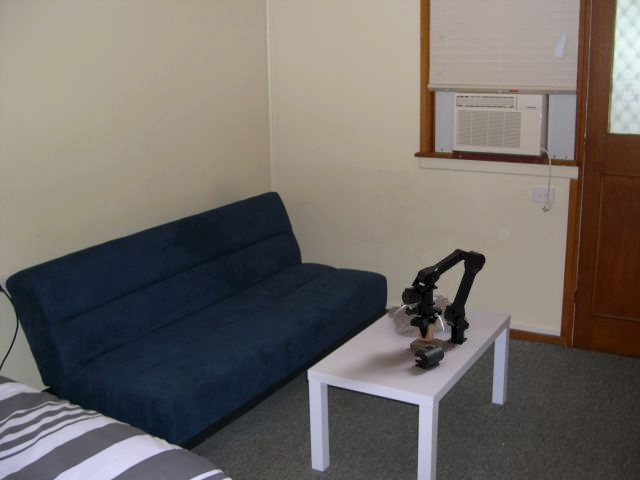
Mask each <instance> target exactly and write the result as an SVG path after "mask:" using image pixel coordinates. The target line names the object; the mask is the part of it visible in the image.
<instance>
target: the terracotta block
mask: <svg viewBox="0 0 640 480" xmlns="http://www.w3.org/2000/svg"><path fill="white" fill-rule="evenodd" d="M428 324H430V326H429V329H428V332H427V335H426V337H425V338H422V335H421V332H420V329H419V328H418V337H419V339H420V340H425V341H430V340H431V339H432V338H435V337H434V336H435V335H434V333H435V331H434V330H435V329H434V327H435V325H434V324H431V323H428Z"/></svg>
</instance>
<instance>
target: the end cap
mask: <svg viewBox="0 0 640 480" xmlns="http://www.w3.org/2000/svg"><path fill="white" fill-rule="evenodd" d="M425 349H428V350H427V351H424V350H417V351H416V352H415V351H414V352H415V353H414V356H415V357H417V358H415V359H414V363H416V364H415V367H416V368H420V369H423V370H425V369H428V368H429V367H432V366H433V365H435V364H437V363H439V362H441V361H443V359H444V358H445V351H444V349H443V348H442V347H439V346H437V347H432V346H426V347H425ZM418 358H420V359H418Z"/></svg>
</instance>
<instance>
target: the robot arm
mask: <svg viewBox="0 0 640 480" xmlns="http://www.w3.org/2000/svg"><path fill="white" fill-rule="evenodd" d="M486 259H487V258H486V257H485V255H484V254H482V253H480V252H478V251H474V250H470V251H466V250H463V249H461V248H456V249H454V251H453V252H452V253H450V254H448V255H447V256H445V257H444V258H443V259H441V260H439V261H438V262H437V263H435V264H434V265H430V266H426V267H424V268H422V269H420V270H419V271H418V272H417V274H416V276H415V279H414V280H413V282H412V283H411V287H404V291H403V292H402V294H401V300H402V304H403V305H405V306H406V307H405V310H404V313H405V314H406V315H407V316H408V317H410V316H413V315H416V316H414V317H413V318H411V319H410V320H409V325H410V326H411V327H416V328H418V330H419V329H420V332H421V335H422V338H425V337H426V335H427V332H428V329H429V326H430V324H428V323H431V324H434V326H435V324H436V323H437V321H438V320H439V317H440V316H441V315H443V319H444V321H445V322H446V325H447V326H450V338H449V339H447V342H448V343H455V344H459V345H463V344H464V343H465V342H466V341H467V340H468V338H467V337H465V331H466V330H468V329H469V327H470V323H469V322H468V321H467V320H466V319H465V317H466V307H465V306H466V303H467V301H468V297H469V295H470V294H471V290H472V288H473V284H474V281H475V278H476V276H477V275H478V274H479V273H480V272H481V271H482V270H483V268H484V265H485V264H486V261H487V260H486ZM462 261H464V262H463V266H464V271H463V274H462V277H461V280H460V283H459V284H458V285H459V286H458V289H457V292H456V294H455V297H454V299H453V302H452V303H451V304H450V305H449V304H446V306H445V310H444V312H443V308H441V307H438V306H434V305H436V301H434V290H438V289H439V287H438V286H437V285H436V283H437V282H438V281H439V280H440V278H441V276H442V275H443V274H445V273H446V272H447V271H449V270H450V269H452V268H454V267H455V266H457V265H458V264H459V263H461V262H462ZM436 315H437V316H436Z"/></svg>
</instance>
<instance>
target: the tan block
mask: <svg viewBox="0 0 640 480" xmlns="http://www.w3.org/2000/svg"><path fill="white" fill-rule="evenodd" d="M426 346H432V347H437V346H439V347H441V348H442V347H443V339H439V338H435V337H434V338H432V339H431V340H430V341H425V340H420V339H419V336H417V338H416V339H414V340H413V341H411V342H410V343H409V351H410V352H416V351H417V350H424V351H427V350H428V349H425V347H426Z"/></svg>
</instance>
